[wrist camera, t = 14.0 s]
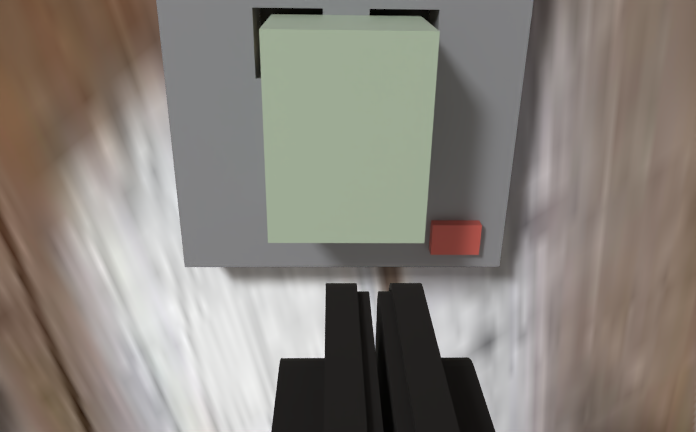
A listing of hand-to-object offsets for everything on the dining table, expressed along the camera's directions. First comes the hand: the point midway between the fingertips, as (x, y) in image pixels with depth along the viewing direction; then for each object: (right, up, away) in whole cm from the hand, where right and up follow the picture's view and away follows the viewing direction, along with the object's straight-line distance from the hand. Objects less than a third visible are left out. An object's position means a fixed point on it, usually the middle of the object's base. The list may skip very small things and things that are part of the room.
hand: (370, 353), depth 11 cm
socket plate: (-1, +8, +20) cm, 22 cm away
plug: (-1, +8, +20) cm, 21 cm away
